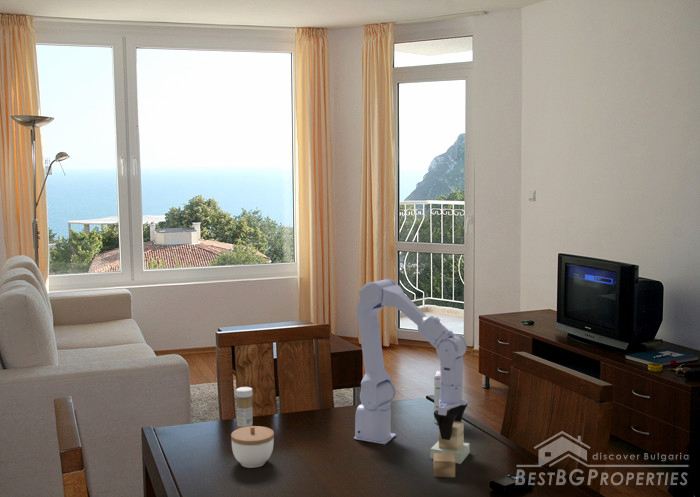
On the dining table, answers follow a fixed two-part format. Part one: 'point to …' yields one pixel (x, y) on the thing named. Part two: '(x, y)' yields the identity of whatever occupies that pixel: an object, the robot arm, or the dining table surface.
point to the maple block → (453, 437)
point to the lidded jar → (252, 445)
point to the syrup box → (436, 392)
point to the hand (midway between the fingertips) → (450, 434)
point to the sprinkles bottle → (244, 407)
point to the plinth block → (452, 452)
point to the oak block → (443, 465)
